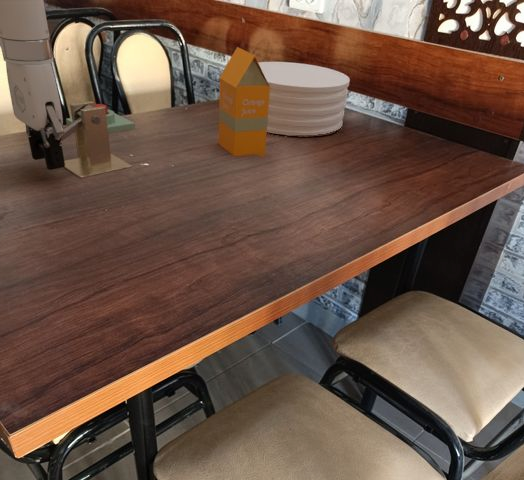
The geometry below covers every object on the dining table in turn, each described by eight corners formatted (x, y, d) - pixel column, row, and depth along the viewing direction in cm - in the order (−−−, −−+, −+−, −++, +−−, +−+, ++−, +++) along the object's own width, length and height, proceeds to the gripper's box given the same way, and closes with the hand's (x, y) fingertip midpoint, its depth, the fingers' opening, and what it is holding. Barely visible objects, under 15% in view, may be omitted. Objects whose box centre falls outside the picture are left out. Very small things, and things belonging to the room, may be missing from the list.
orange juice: (248, 144, 118) (253, 46, 106) (265, 157, 113) (273, 55, 100) (217, 147, 115) (219, 46, 103) (233, 160, 109) (237, 55, 97)
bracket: (81, 183, 94) (70, 116, 87) (59, 168, 99) (47, 103, 92) (132, 171, 100) (127, 108, 93) (109, 157, 105) (102, 96, 98)
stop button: (96, 117, 114) (95, 109, 113) (88, 113, 116) (87, 105, 115) (110, 115, 116) (109, 107, 115) (102, 111, 118) (101, 103, 117)
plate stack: (362, 126, 137) (371, 79, 130) (294, 144, 121) (300, 92, 113) (286, 101, 151) (290, 58, 144) (216, 115, 135) (217, 67, 128)
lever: (53, 159, 90) (45, 148, 89) (40, 151, 93) (32, 140, 91) (104, 121, 93) (98, 109, 91) (91, 114, 96) (84, 102, 94)
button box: (88, 140, 112) (86, 122, 110) (67, 128, 117) (64, 110, 115) (135, 132, 119) (134, 114, 116) (113, 121, 124) (111, 103, 122)
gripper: (-18, 41, 84) (9, 152, 95) (26, 62, 75) (50, 182, 86) (27, 39, 88) (47, 146, 99) (74, 59, 79) (90, 174, 90)
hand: (48, 162), depth 93 cm, fingers closed on lever, 5 cm apart
